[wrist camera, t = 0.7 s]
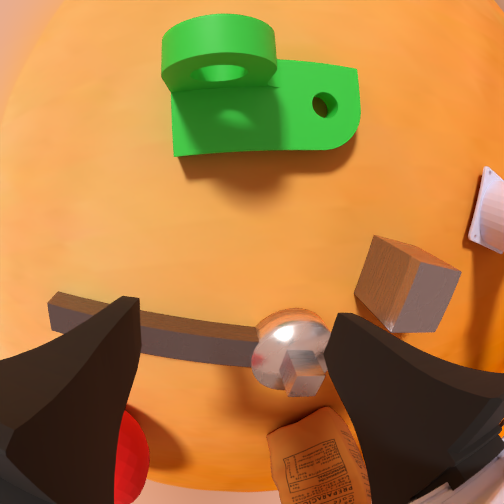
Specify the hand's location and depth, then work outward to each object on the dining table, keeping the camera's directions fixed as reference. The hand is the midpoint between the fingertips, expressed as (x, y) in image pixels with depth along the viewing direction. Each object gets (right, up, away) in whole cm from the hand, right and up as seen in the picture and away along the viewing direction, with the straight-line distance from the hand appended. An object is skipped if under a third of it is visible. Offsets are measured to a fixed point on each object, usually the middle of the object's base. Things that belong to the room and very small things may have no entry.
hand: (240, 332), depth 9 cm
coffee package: (+8, -20, +20) cm, 29 cm away
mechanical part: (+1, +12, +7) cm, 15 cm away
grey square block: (+12, +1, +12) cm, 17 cm away
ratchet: (-4, -4, +12) cm, 13 cm away
